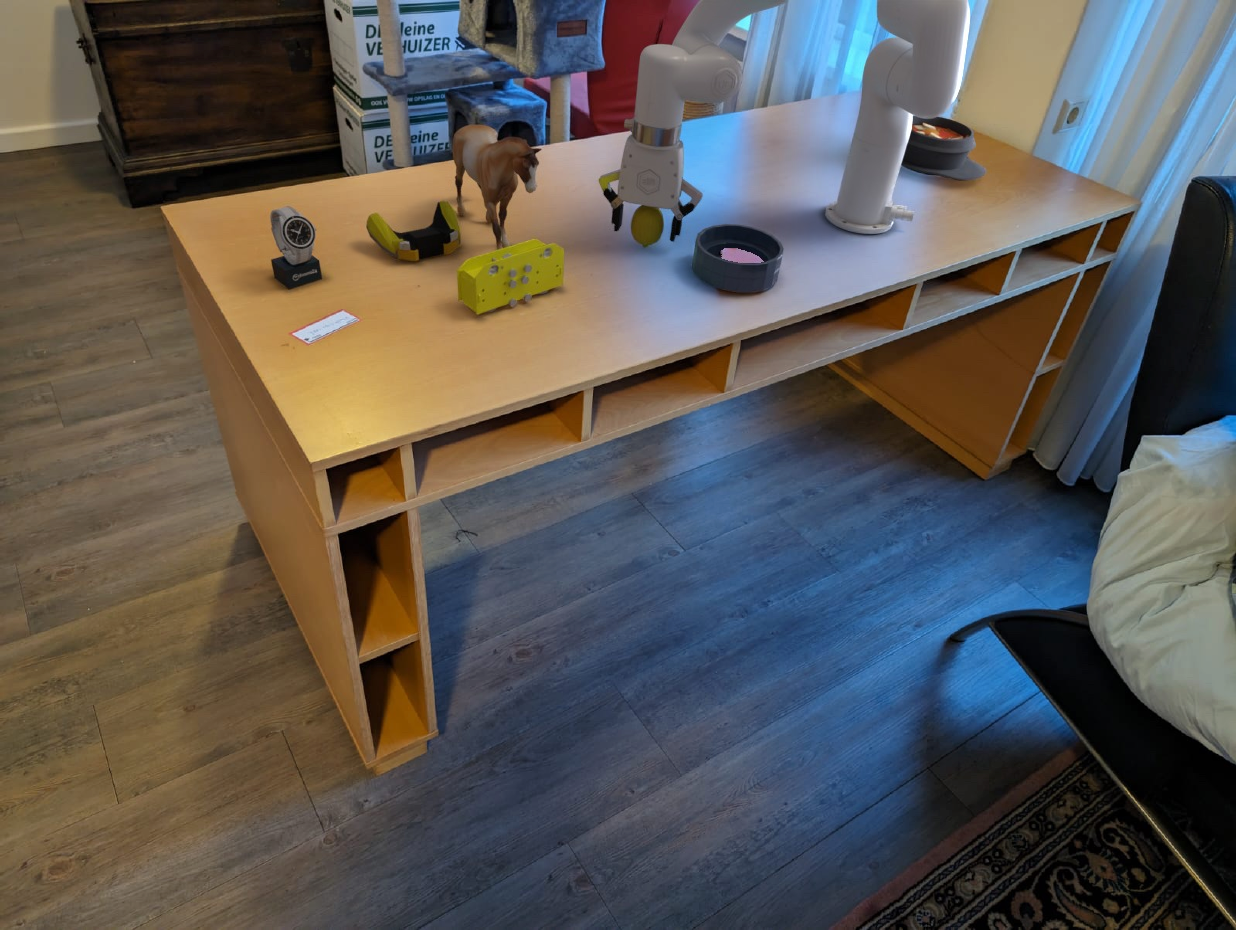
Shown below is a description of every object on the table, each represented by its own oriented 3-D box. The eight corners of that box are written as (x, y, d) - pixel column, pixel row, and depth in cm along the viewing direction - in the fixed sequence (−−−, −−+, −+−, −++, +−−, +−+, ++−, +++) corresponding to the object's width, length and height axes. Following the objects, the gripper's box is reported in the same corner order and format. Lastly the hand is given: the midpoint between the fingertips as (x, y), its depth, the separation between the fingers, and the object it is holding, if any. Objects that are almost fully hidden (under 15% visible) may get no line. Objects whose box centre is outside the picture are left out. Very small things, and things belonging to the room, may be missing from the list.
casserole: (999, 176, 188) (1013, 137, 182) (954, 196, 178) (967, 155, 172) (901, 139, 201) (911, 101, 196) (853, 155, 191) (863, 116, 185)
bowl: (780, 262, 150) (786, 232, 146) (772, 302, 139) (779, 271, 136) (698, 248, 152) (703, 218, 148) (685, 286, 141) (689, 255, 137)
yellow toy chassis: (478, 320, 128) (477, 269, 123) (457, 304, 131) (454, 253, 126) (564, 290, 137) (566, 241, 132) (542, 275, 140) (543, 227, 135)
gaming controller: (365, 243, 144) (388, 270, 138) (361, 211, 140) (384, 237, 134) (450, 226, 150) (475, 252, 144) (448, 196, 147) (474, 220, 141)
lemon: (648, 258, 147) (653, 213, 142) (622, 247, 150) (626, 202, 145) (667, 247, 151) (672, 203, 146) (641, 236, 153) (646, 192, 148)
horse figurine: (541, 275, 140) (543, 147, 127) (494, 282, 137) (491, 152, 124) (484, 195, 161) (481, 79, 148) (443, 199, 158) (436, 81, 145)
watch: (295, 295, 130) (282, 225, 123) (268, 273, 134) (255, 205, 127) (329, 283, 133) (318, 215, 126) (302, 263, 137) (290, 196, 130)
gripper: (597, 131, 136) (590, 233, 147) (707, 149, 134) (691, 252, 145) (608, 115, 141) (601, 215, 152) (714, 133, 139) (698, 233, 150)
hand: (645, 233), depth 149 cm, fingers open, 9 cm apart
